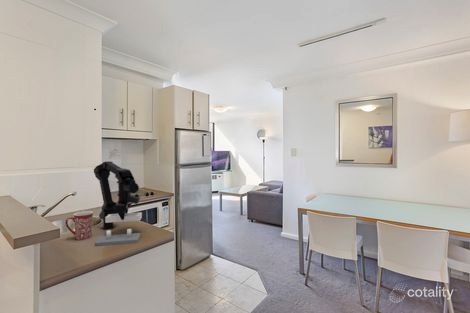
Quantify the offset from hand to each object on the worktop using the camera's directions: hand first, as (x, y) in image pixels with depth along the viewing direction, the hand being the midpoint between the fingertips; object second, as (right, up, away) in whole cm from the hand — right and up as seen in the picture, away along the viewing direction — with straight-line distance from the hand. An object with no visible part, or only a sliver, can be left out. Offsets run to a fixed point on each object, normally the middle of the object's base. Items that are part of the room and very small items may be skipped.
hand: (124, 218), depth 130 cm
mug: (-21, -9, -7) cm, 24 cm away
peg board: (+3, -9, -10) cm, 14 cm away
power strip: (0, -1, 0) cm, 1 cm away
